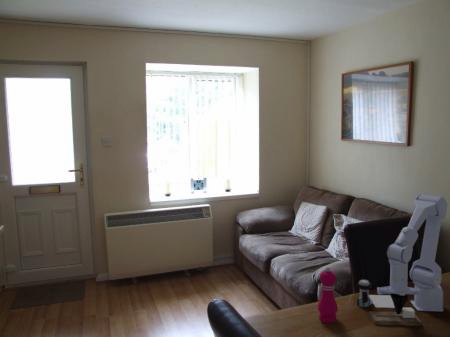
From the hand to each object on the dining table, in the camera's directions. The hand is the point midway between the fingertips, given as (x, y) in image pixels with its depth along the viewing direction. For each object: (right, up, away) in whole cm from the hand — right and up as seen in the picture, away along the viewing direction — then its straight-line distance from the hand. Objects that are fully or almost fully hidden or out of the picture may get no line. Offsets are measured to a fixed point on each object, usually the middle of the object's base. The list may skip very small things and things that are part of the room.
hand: (398, 313), depth 138 cm
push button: (-7, -2, +13) cm, 15 cm away
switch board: (-1, -3, 0) cm, 3 cm away
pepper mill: (-25, -3, +3) cm, 25 cm away
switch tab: (+3, -1, 0) cm, 3 cm away
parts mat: (+1, -1, +15) cm, 15 cm away
